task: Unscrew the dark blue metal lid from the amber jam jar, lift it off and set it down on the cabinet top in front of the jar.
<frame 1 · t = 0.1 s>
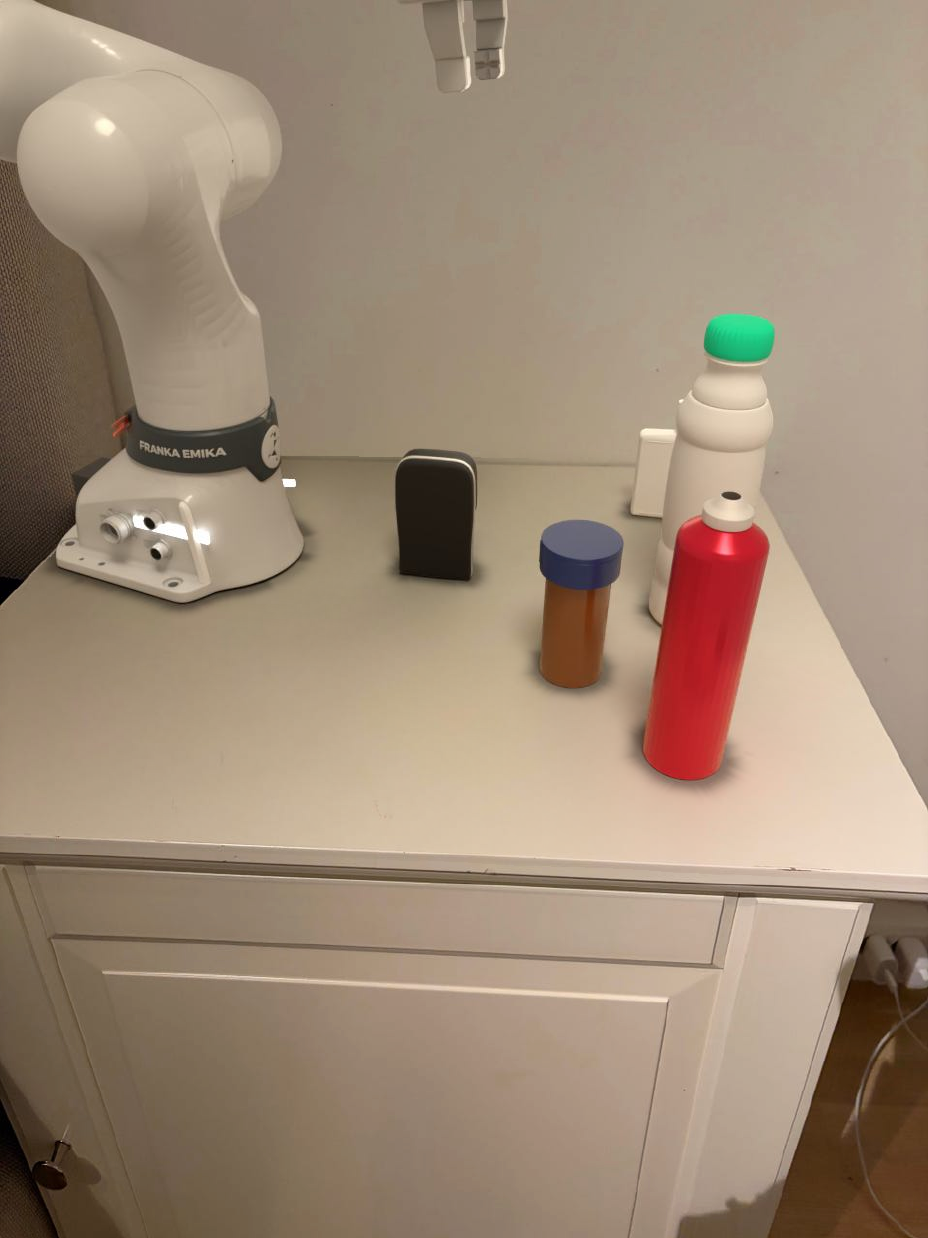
hand: (474, 84, 61), 39 cm above the table, tool pointing down, fingers open, 8 cm apart
bottle: (681, 754, 65), on the table
water bottle: (689, 617, 79), on the table
white upright flat block: (669, 516, 94), on the table
jar: (570, 669, 73), on the table
lid: (581, 543, 66), point 11 cm above the table, screwed on, not yet turned
battery charger: (438, 570, 85), on the table
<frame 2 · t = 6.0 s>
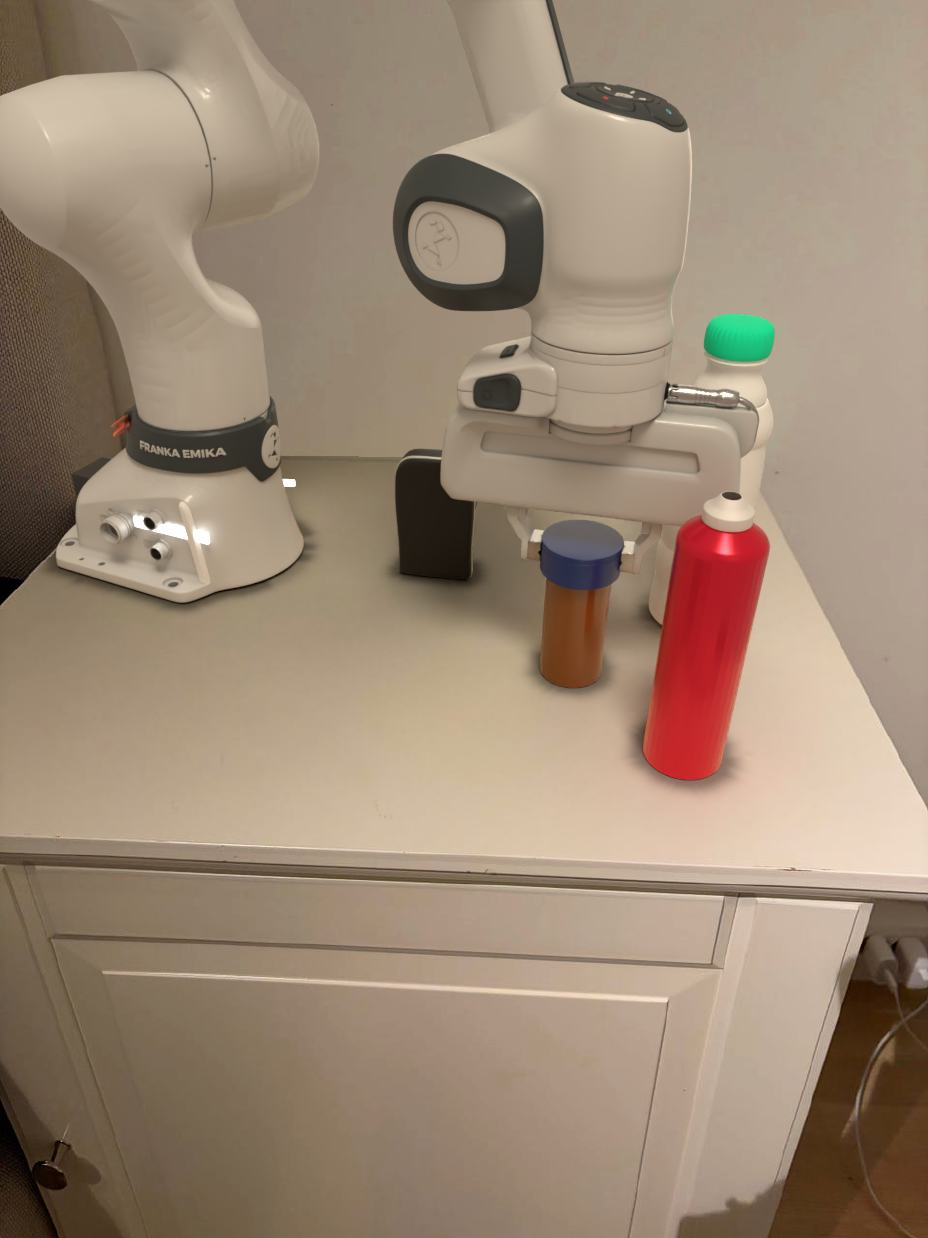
hand: (579, 562, 67), 10 cm above the table, tool pointing down, fingers closed on lid, 6 cm apart
lid: (582, 543, 66), point 11 cm above the table, screwed on, not yet turned, touching gripper
everything else where it was.
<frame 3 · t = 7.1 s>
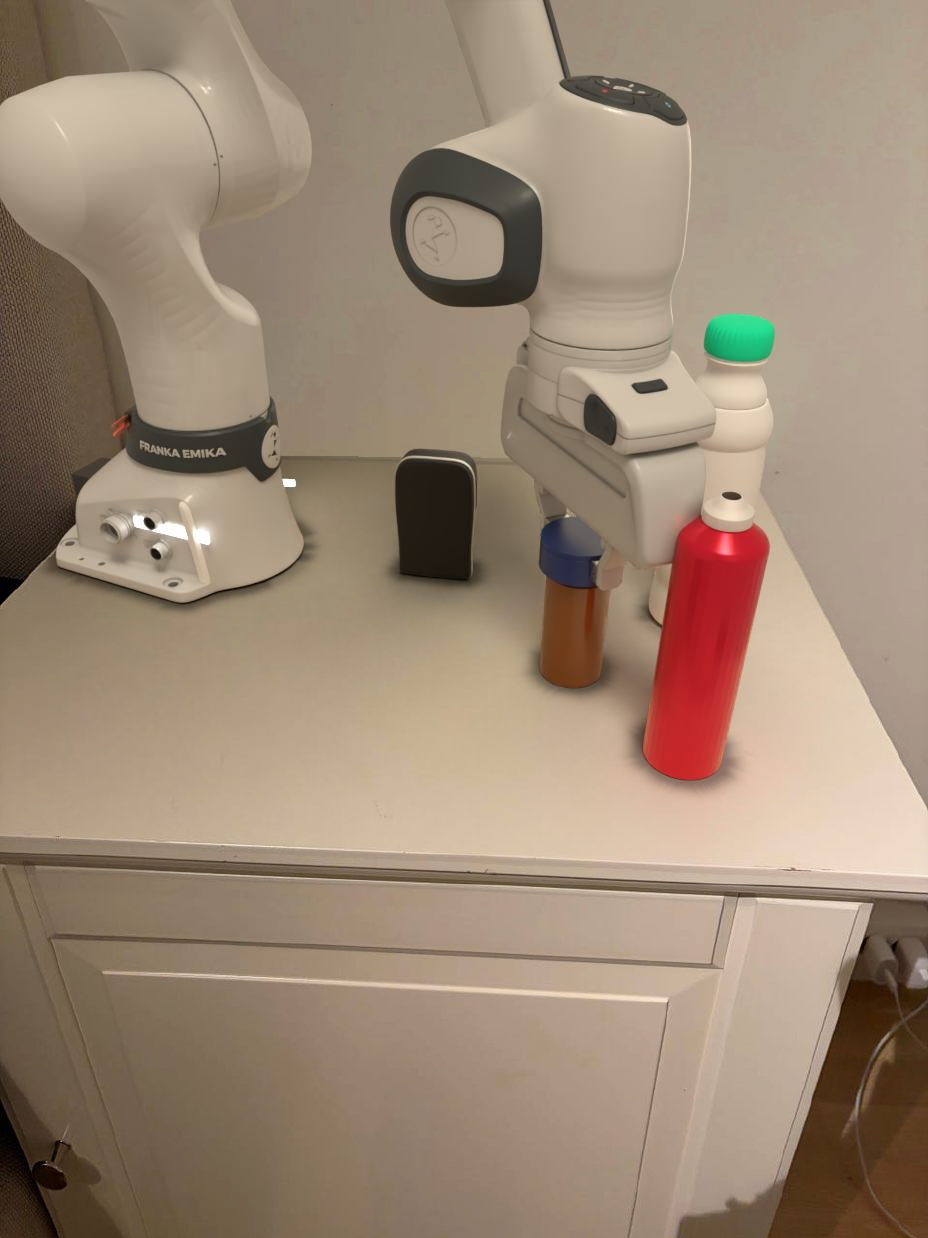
hand: (579, 560, 67), 10 cm above the table, tool pointing down, fingers closed on lid, 6 cm apart
lid: (581, 540, 66), point 12 cm above the table, off its thread, touching gripper
everything else where it was.
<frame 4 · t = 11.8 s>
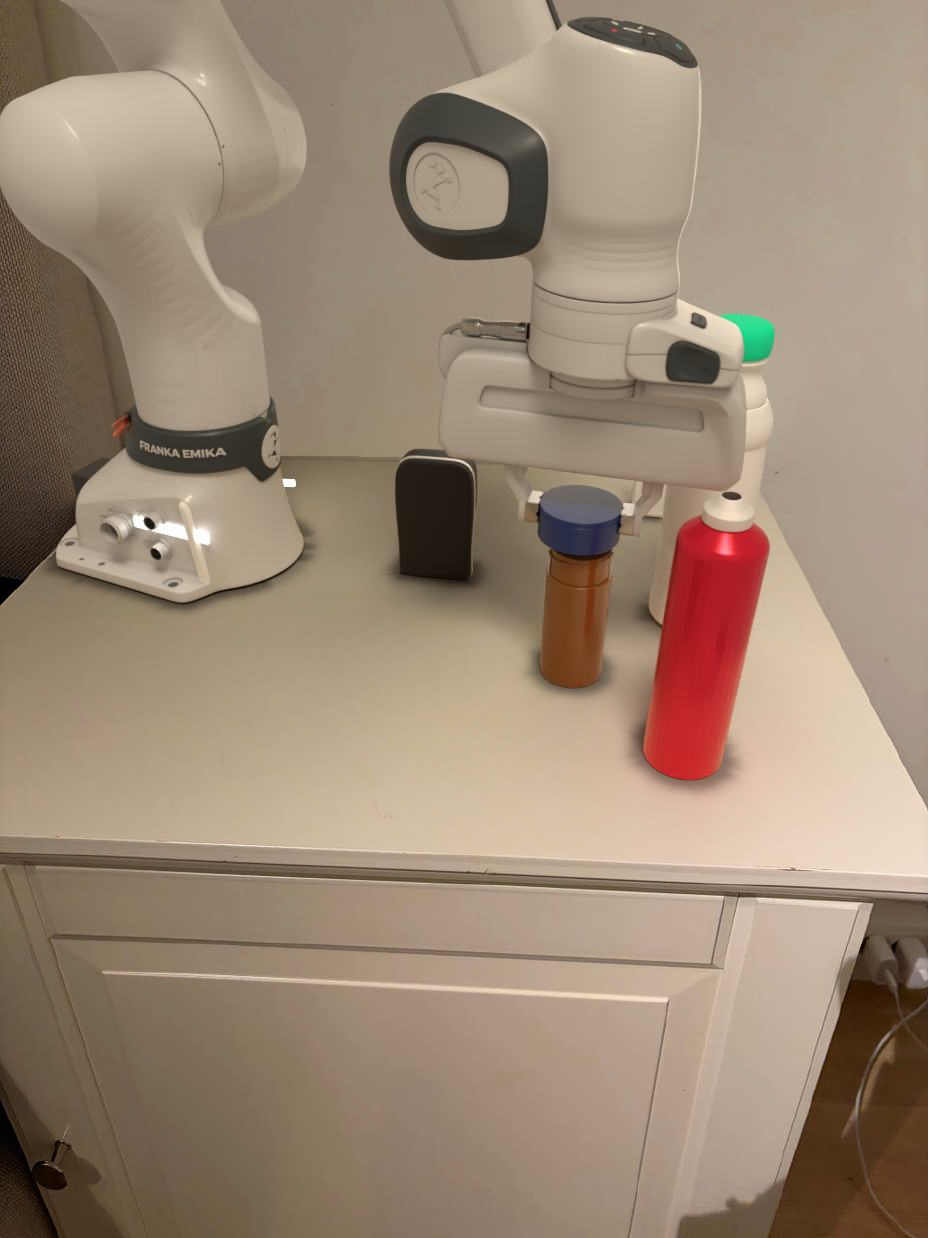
hand: (579, 525, 66), 13 cm above the table, tool pointing down, fingers closed on lid, 6 cm apart
lid: (580, 508, 65), point 14 cm above the table, off its thread, touching gripper
everything else where it was.
when the fingers open (2 cm above the table, at t = 17.9 s): lid drops 2 cm, point 2 cm above the table.
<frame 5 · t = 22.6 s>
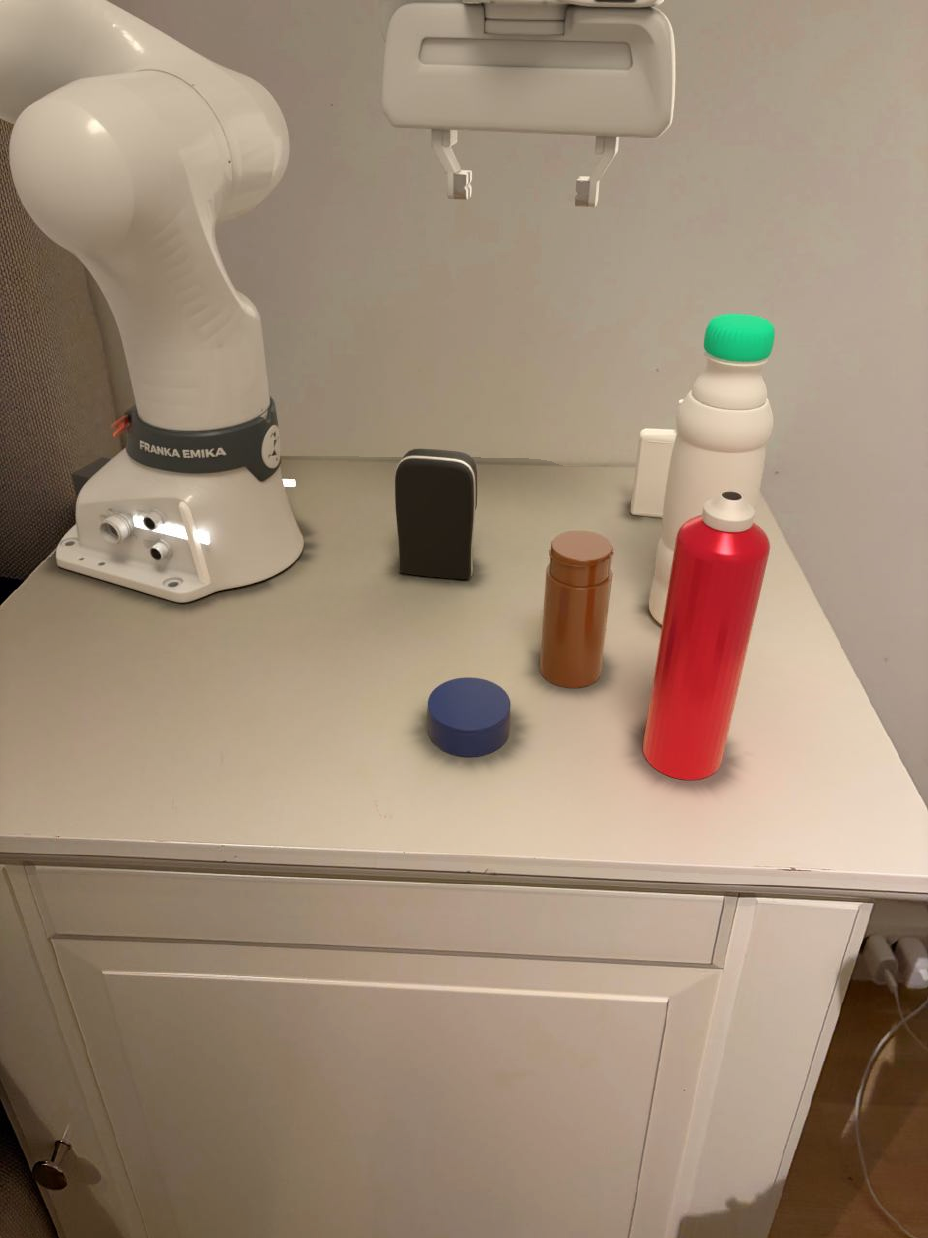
hand: (521, 201, 68), 31 cm above the table, tool pointing down, fingers open, 8 cm apart
lid: (469, 707, 66), point 2 cm above the table, off its thread
everything else where it was.
at the end: lid came off its thread; lid point 2.1 cm above the table; the gripper is holding nothing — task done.
